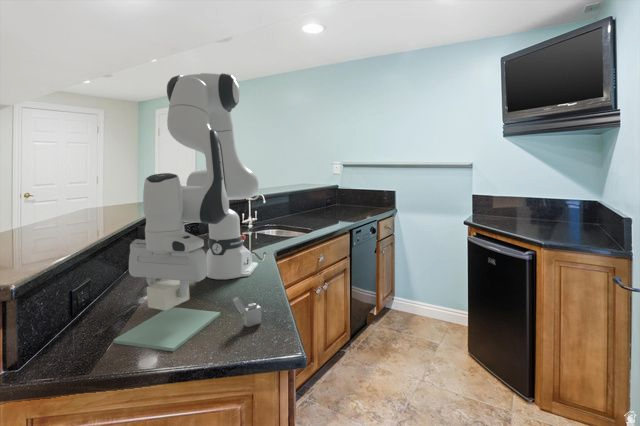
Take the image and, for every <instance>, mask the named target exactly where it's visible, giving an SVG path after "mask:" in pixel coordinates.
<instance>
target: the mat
mask: <svg viewBox="0 0 640 426" xmlns="http://www.w3.org/2000/svg"><path fill="white" fill-rule="evenodd" d="M220 316H221V312H220V311H210V310H204V309H203V310H202V309H194V308H192V309H191V308H184V307H176V306H174V307H172V308H170V309H168V310H161V311H160V312H159V313H157V314H155V315H153V316H152V317H150V318H148V319H147V320H145V321H143V322H141V323H140V324H138V325H136V326H134V327H133V328H131V329H129V330H128V331H126V332H124V333H122V334H120V335H119V336H117V337H115V338H114V339H113V344H118V345H126V346H131V347H132V346H133V347H138V348H139V347H140V348H145V349H146V348H147V349H154V350H160V351H166V352H167V351H168V352H173V353H174V352H175V351H176V350H178V349H179V348H180V347H182V346H183V345H184V344H186V343H187V342H189V340H191V339H192V338H193V337H194V336H196V335H197V334H198V333H200V332H201V331H202V330H204V329H205V328H206V327H207V326H208V325H210V324H212V322H214V321H215V320H216V319H217V318H219V317H220Z"/></svg>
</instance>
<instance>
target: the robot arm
mask: <svg viewBox="0 0 640 426" xmlns="http://www.w3.org/2000/svg"><path fill="white" fill-rule="evenodd" d="M166 84H167V85H166V94H167V99H168V101H169V105H168V111H167V120H166V121H167V125H166V126H167V130H168V133H169V135H170V136H171V137H172V138H173V139H174V140H175V141H176V142H178V143H179V144H181V145H182V146H184V147H187V148H189V149H191V150H194V151H197V152H199V153H201V154H203V155H204V157H205V166H206V168H205V169H200V170H199V169H198V170H194V171H192V172H191V173H189V175H188V176H187V178H186V179H187V180H186V185H183V184H181V180H180V178H179V175H177V174H176V173H170V172H168V173H167V172H165V173H164V172H163V173H154V174H151V175H149V176H147V177H146V178H145V179H144V183H143V191H142V192H143V193H142V205H143V207H142V208H143V215H144V217H145V227H144V234H145V235H144V238H145V239H139V238H138V239H136V238H135V239H134V240H133V241H132V242H131V243H130V244H129V255H128V256H129V258H128V272H129V274H130V276H131V277H134V278H146V279H145V281H146V284H148V287H149V286H151V285H154V284H157V283H158V282H157V279H159V280H168V279H169V280H180V285H182V286H181V288H180V289H179V290H177V297H180V298H183V297H185V296H186V289H187V287H188V285H189V286H190V283H191V282H194V283H199V282H201V281H202V280H204V279H206V277H207V278H209V279H213V280H230V279H231V280H232V279H236V278H243V277H250V276H251V275H252V273H253V272H254V271H255V270H256V269H257V267H258V266H259V263H258V262H257V261H256V262H255V261H253V256H252V252H251V251H250V250H249V249H248V248H246V246H244V242H243V241H246V235H245V234H241V226H240V225H241V224H240V223H241V222H240V220H241V218H240V216H239V214H238V213H237V212H236V211H235V210H233V209H231V208H230V200H245V199H250V198H253V197H254V196H255V195H256V194H257V192H258V189H259V180H258V177H257V175H256V174H255V172H253V171H252V170H251V169H249V168H248V167H247V166H246V165H245V164H244V163H243V162H242V160H241V158H240V157H239V155H238V152H237V148H236V143H235V142H236V141H235V133H234V125H233V119H232V114H231V112H232V110H233V109H235V108H236V106H237V105H238V104H239V102H240V101H239V100H240V95H241V94H240V93H241V91H240V87H239V84H238V81H237V79H236V78H235V77H234V75H232V74H229V73H222V72H221V73H209V72H205V73H204V72H203V73H202V72H201V73H194V74H186V75H182V74H179V75H175V76H173V77H171V78H170V79H169V81H168V82H167V83H166ZM184 223H198V224H199V223H200V224H201V223H202V224H208V225H207V226H208V238H207V240H208V241H207V245H208V248H209V249H208V250H207V251H206V252H205V250H204V249H202V247H204V245H205V241H204V239H203V238H201V237H199V236H196V235H194V234H192V233H189V232H187V231H185V229H186V228H185V224H184Z"/></svg>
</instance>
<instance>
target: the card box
mask: <svg viewBox="0 0 640 426" xmlns="http://www.w3.org/2000/svg"><path fill="white" fill-rule="evenodd" d="M156 283H157V284H154V285H151V286H149V285H148V286H146V296H147V300H146V301H147V308H150V309H155V310H161V311H163V310H168V309H170V308H172V307H176V306H179V305H180V304H183V303H185V302H187V301H189V300H190V284H189V285H188V287H187V289H186V296H185V297H183V298H180V297H177V290H179V289H180V288H181V286H182V285H180V280H169V279H164V280H162V281H159V282H156Z"/></svg>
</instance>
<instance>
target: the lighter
mask: <svg viewBox="0 0 640 426" xmlns="http://www.w3.org/2000/svg"><path fill="white" fill-rule="evenodd" d="M232 302H233V304H234V305H235V308H236V309H237V310H238V312H239V313H240V314H241V315H243V321H244V323H243V324H244V326H245V327H246V328H248V327H253V326H255V325H259V324H262V306H260V305H259V304H257V303H255V302H253V303H248V305H247V307H245V306H244V304H243V302H242V299H240V298H239V297H238V296H236V297H234V298H233V299H232Z"/></svg>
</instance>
